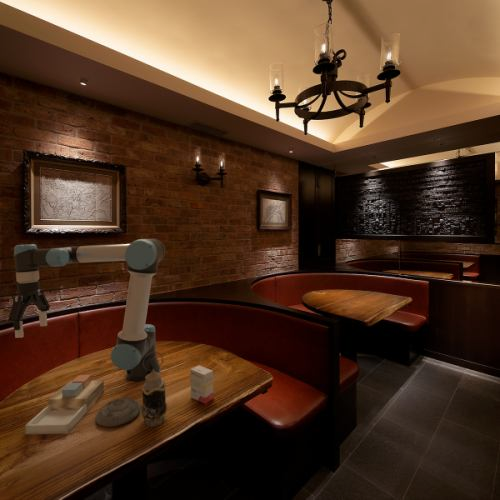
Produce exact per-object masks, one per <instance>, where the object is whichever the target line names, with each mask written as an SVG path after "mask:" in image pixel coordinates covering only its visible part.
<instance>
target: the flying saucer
mask: <svg viewBox="0 0 500 500" xmlns="http://www.w3.org/2000/svg"><path fill="white" fill-rule="evenodd" d="M141 409H142V405H141V404H140V403H139V401H137V400H136V399H134V398H129V397H122V398H116V399H112V400H111V401H109V402H107V403H106V404H105V405H103V406H102V407H101V408H100V409H99V411H98V412H97V414H96V415H95V421H96V423H97V424H98V425H100V426H102V427H108V428H109V427H116V426H122V425H123V424H126V423H128V422H130V421H132V420H134V419H135V418H137V416H138V415H139V414H140V413H141V412H140V411H141Z"/></svg>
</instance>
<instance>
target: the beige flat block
mask: <svg viewBox="0 0 500 500" xmlns="http://www.w3.org/2000/svg"><path fill="white" fill-rule="evenodd" d="M72 381H73V380H69V381H68V382H67V383H66V384H64V385H63V386H62V387H61V388H59V390H57V392H55V393H54V394H53V395H52V396H51V397H49V398H48V405H51V410H79V409H80V408H81V407H82V406H83V405H84V404H87V412H88V411H89V410H90V409H91V408H92V407H93V405H94V404H95V403H96V402H97V401H98V400H99V399H100V397H101V396H102V395H103V394H104V393H105V382H104V380H91V383H90V384H89V385H88V386H87V387H86V388H85V389H83V391H82V392H81V393H80V394H79V395H78V396H77V397H72V398H62V389H64V388H65V387H66V386H67V385H68V384H69V383H72Z"/></svg>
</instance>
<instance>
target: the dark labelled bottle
mask: <svg viewBox="0 0 500 500" xmlns="http://www.w3.org/2000/svg"><path fill="white" fill-rule="evenodd" d="M151 353H156V354H158V355H160V356H161V364H160V366H159V367H160V368H161V366H162V365H163V363H164V357H163V355H162V354H161V353H160V352H159V351H156V352H151ZM149 354H150V353H149ZM149 354H147V355H149ZM147 355H146V356H147ZM146 356H145V358H146ZM145 358H144V359H145ZM143 366H144V360H143ZM159 367H158V368H159ZM144 368H145V367H144ZM158 368H157V369H158ZM145 369H146V368H145ZM157 369H155V370H157ZM146 370H148V369H146ZM148 371H152V372H151V373H150V374H148V375H147V376H146V377H145V379H146V380H145V383H143V387H142V388H141V391H140V392H141V394H142V405H141V410H140V411H141V412H140V413H141V417H142V418H143V420H144V421H145V425H146V426H148V427H155V426H158V425H161V424H162V423H163V422H164V421H165V415H166V414H167V411H168V410H167V409H168V407H167V402H166V399H167V398H166V387H167V386H166V385H167V384H166V382H165V381H164V380H163V379H162V376H163V375H162V374H161V373H160V372H159V373H157V372H155V371H154V369H153V370H148Z"/></svg>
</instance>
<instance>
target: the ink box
mask: <svg viewBox="0 0 500 500" xmlns="http://www.w3.org/2000/svg"><path fill="white" fill-rule="evenodd" d="M189 371H190V398H191V399H194V400H196V401H198V402H200V403H203V404H205V405H207V404H208V403H209V402H210V401H212V400H213V399H214V370H212V369H209V368H207V367H204V366H202V365H199V364H198V365H197V366H195V367H192V368H191V369H190V370H189Z"/></svg>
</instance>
